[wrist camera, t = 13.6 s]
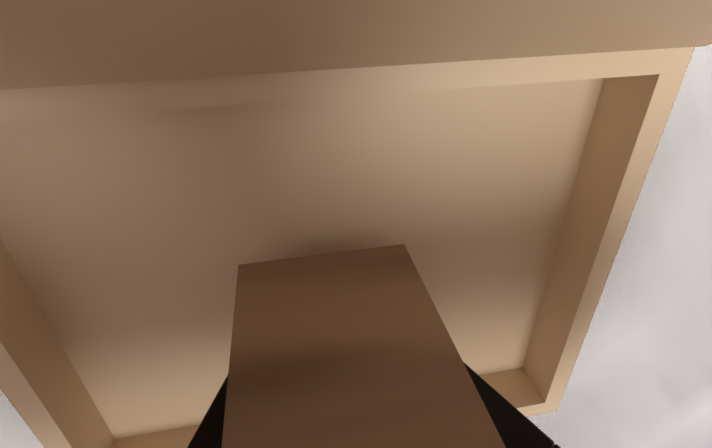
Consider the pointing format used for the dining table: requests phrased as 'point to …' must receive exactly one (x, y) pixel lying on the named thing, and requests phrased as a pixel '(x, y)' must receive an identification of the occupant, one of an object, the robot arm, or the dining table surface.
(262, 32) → the mailer lid
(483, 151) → the box
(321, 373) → the walnut block
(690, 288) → the dining table surface
